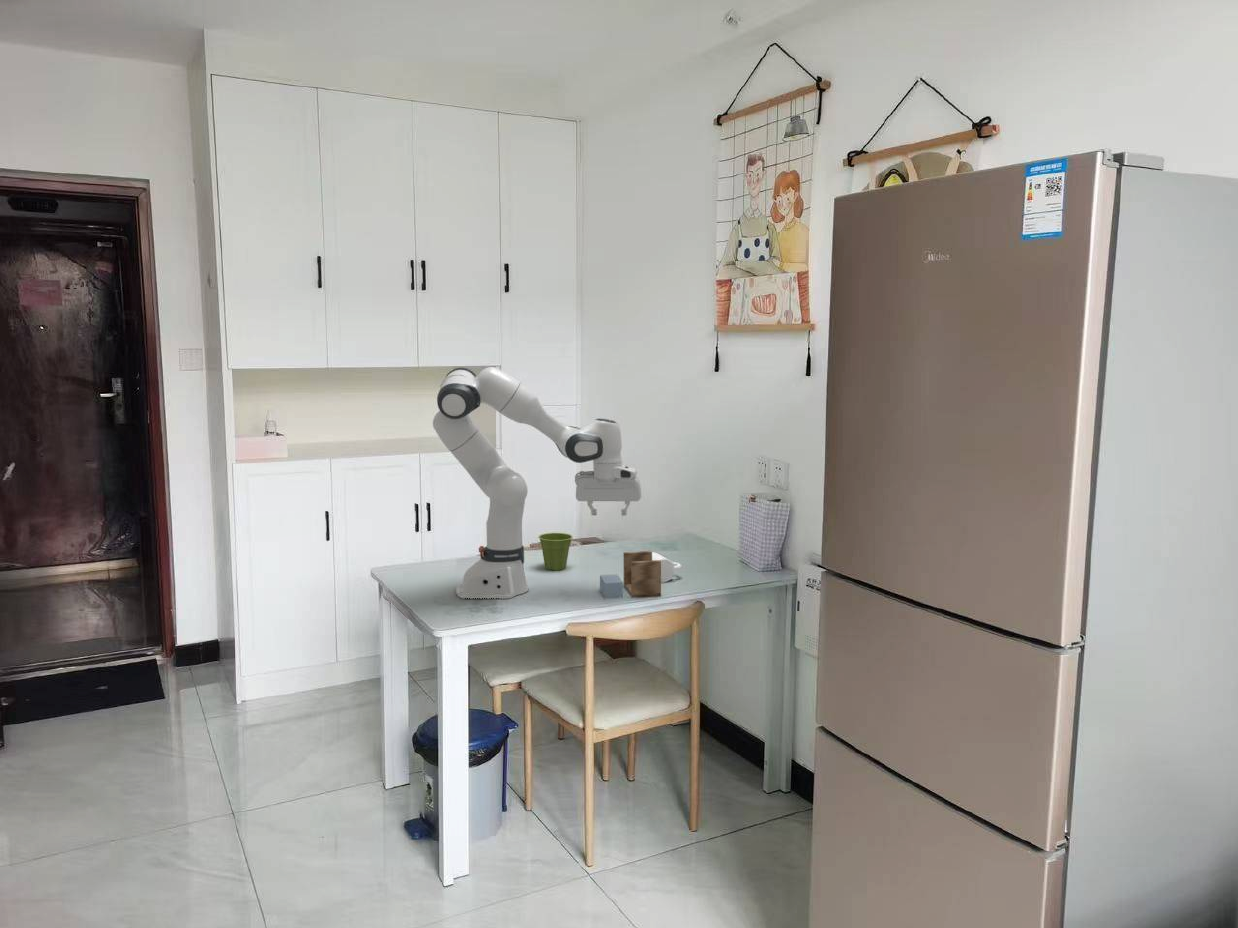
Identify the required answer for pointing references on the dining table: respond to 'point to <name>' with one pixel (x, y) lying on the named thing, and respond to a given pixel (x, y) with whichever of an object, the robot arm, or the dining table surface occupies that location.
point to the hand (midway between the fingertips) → (609, 515)
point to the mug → (666, 567)
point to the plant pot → (555, 549)
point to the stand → (642, 574)
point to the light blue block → (611, 586)
